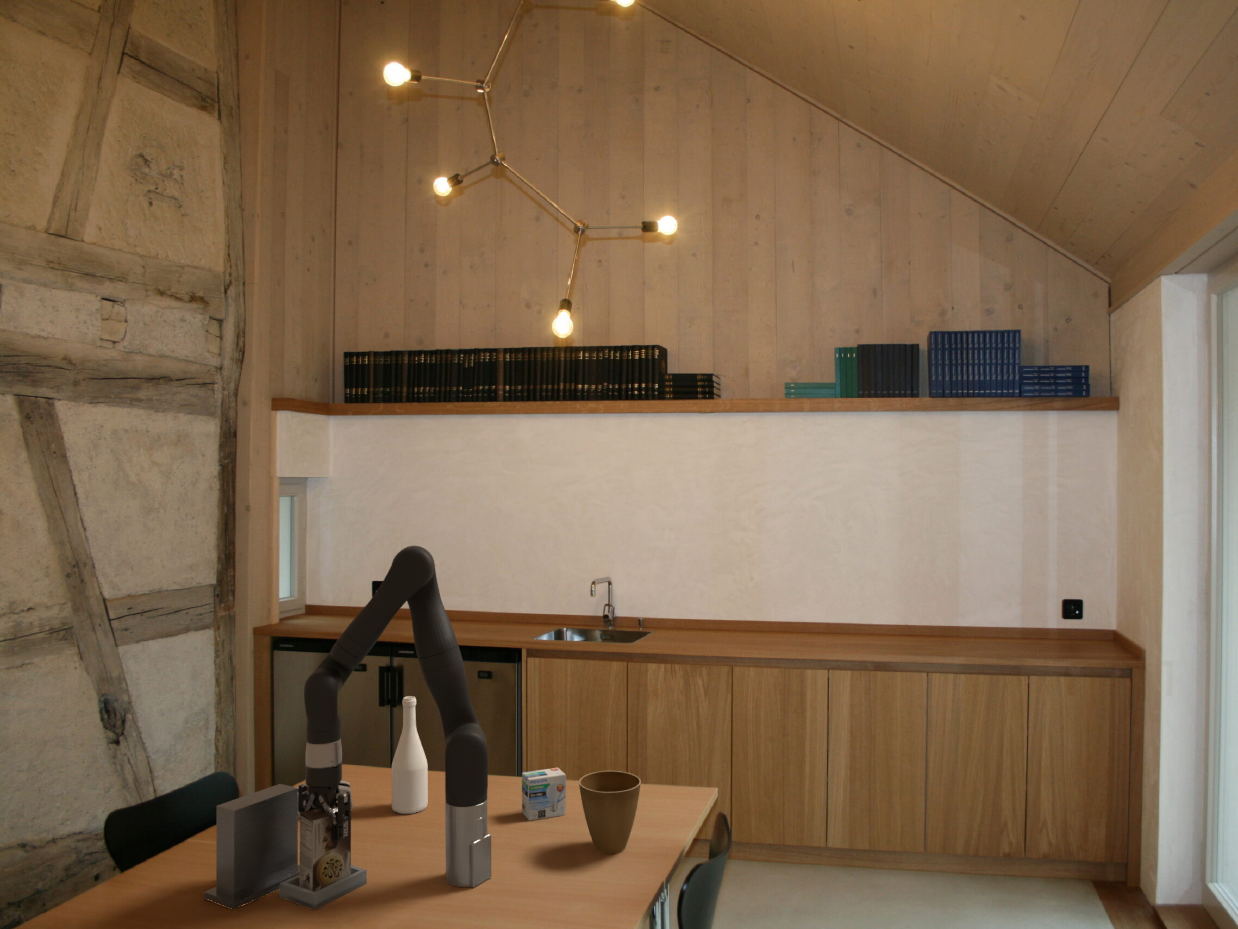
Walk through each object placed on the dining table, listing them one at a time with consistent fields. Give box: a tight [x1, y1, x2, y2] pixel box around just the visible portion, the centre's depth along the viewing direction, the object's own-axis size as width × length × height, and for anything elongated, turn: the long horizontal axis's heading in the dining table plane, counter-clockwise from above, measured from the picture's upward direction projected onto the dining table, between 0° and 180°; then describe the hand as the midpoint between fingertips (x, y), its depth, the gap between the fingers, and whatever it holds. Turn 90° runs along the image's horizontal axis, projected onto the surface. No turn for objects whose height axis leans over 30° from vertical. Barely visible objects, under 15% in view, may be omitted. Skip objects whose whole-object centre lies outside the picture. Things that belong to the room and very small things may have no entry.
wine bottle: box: [391, 695, 429, 815], centre depth 238 cm, size 10×10×30 cm
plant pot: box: [578, 770, 642, 854], centre depth 211 cm, size 15×15×16 cm
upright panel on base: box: [203, 783, 300, 910], centre depth 192 cm, size 10×19×20 cm, turn 149°
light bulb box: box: [521, 767, 567, 821], centre depth 233 cm, size 11×7×11 cm, turn 114°
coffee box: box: [299, 805, 352, 892], centre depth 190 cm, size 9×6×16 cm
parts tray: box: [279, 864, 368, 911], centre depth 189 cm, size 11×14×3 cm
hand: (324, 837), depth 190 cm, fingers open, 7 cm apart
